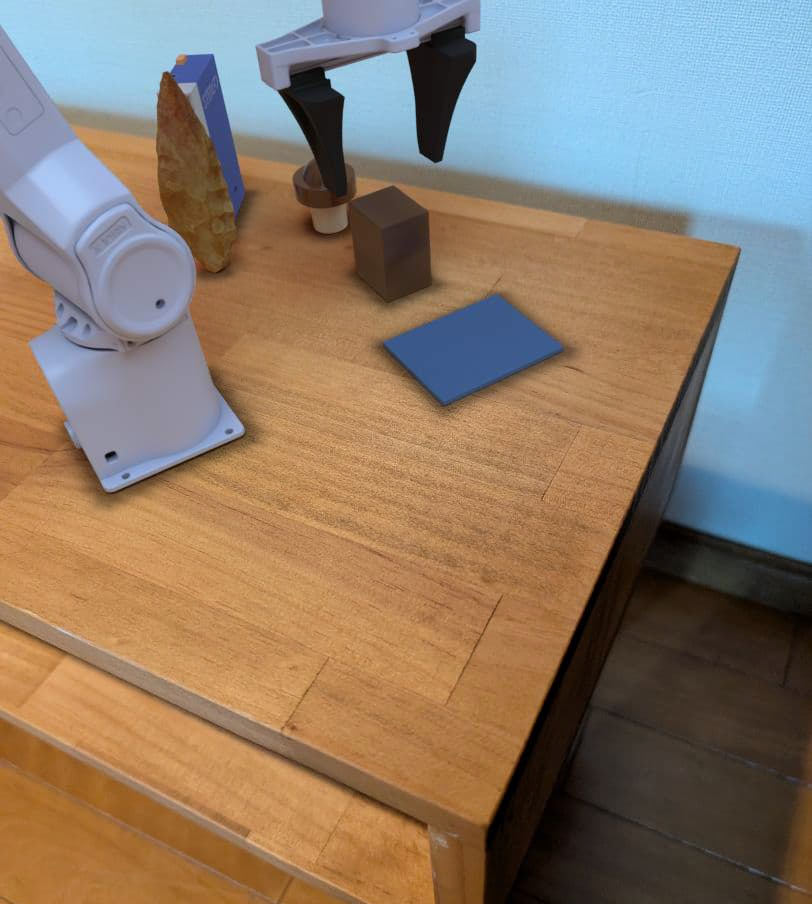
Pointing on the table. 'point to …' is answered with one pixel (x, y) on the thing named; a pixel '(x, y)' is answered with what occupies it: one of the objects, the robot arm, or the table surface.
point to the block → (391, 242)
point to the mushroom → (323, 197)
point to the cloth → (471, 348)
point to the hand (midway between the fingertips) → (384, 173)
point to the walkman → (211, 115)
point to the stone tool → (192, 179)
